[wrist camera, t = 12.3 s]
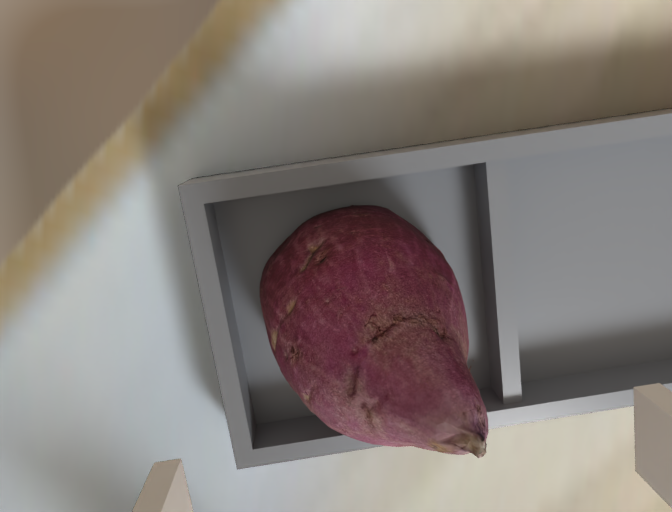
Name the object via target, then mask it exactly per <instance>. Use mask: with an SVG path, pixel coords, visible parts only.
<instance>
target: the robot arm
mask: <svg viewBox="0 0 672 512" xmlns="http://www.w3.org/2000/svg"><path fill="white" fill-rule="evenodd" d="M633 388H634V432H635V471H636V472H637V473H638V474H639V475H640V476H641V477H642V478H643V479H644V480H645V481H646V482H647V483H648V484H649V485H650V486H651V487H652V488H653V490H654V491H655V492H656V493H657V494H658V495H659V496H660V497H661V498H662V499H663V500H664V501H665V502H666V503H667V504H668V505H669V506H670V507H671V508H672V392H671V391H670V390H669V389H667V388H666V387H664V386H663V385H662V384H660V383H656V384H650V385H643V386H637V387H633ZM132 512H193V508H192V504H191V499H190V495H189V491H188V486H187V482H186V477H185V473H184V469H183V464H182V460H181V459H174V460H168V461H162V462H155V463H154V464H153V466H152V469H151V471H150V473H149V475H148V478H147V480H146V482H145V484H144V486H143V489H142V491H141V493H140V495H139V497H138V500H137V502H136V504H135V506H134V508H133V511H132Z"/></svg>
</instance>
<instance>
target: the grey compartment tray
mask: <svg viewBox="0 0 672 512" xmlns="http://www.w3.org/2000/svg"><path fill="white" fill-rule="evenodd" d="M178 189H179V194H180V198H181V203H182V208H183V213H184V218H185V222H186V227H187V232H188V237H189V241H190V246H191V251H192V256H193V261H194V265H195V270H196V275H197V280H198V285H199V289H200V294H201V299H202V304H203V309H204V313H205V318H206V323H207V328H208V332H209V337H210V342H211V347H212V352H213V356H214V361H215V366H216V371H217V376H218V380H219V385H220V390H221V395H222V399H223V404H224V409H225V414H226V419H227V423H228V428H229V433H230V438H231V443H232V447H233V452H234V457H235V462H236V467H237V469H243V468H249V467H255V466H261V465H268V464H274V463H280V462H287V461H293V460H299V459H305V458H312V457H318V456H324V455H330V454H337V453H343V452H349V451H355V450H362V449H368V448H374V447H380V446H384V445H374V444H369V443H366V442H362V441H359V440H355V439H353V438H350V437H348V436H345V435H343V434H341V433H339V432H337V431H335V430H333V429H331V428H330V427H328V426H327V425H326V424H325V423H324V422H323V421H321V420H320V419H319V418H318V417H317V416H316V415H315V414H314V413H312V412H311V411H310V410H309V409H308V407H307V406H306V405H305V404H304V403H303V401H302V400H301V398H300V397H299V395H298V394H297V393H296V392H295V391H294V390H293V389H292V388H291V386H290V384H289V383H288V382H287V380H286V379H285V377H284V376H283V374H282V373H281V370H280V368H279V365H278V363H277V361H276V359H275V357H274V355H273V352H272V350H271V346H270V343H269V339H268V335H267V330H266V326H265V322H264V317H263V313H262V308H261V303H260V281H261V277H262V272H263V269H264V267H265V265H266V263H267V261H268V259H269V258H270V257H271V255H272V254H273V253H274V252H275V250H276V249H277V248H278V247H279V246H280V245H281V244H282V243H283V242H284V241H285V240H286V238H288V237H289V236H290V235H291V234H292V233H293V232H294V231H295V230H296V229H297V228H298V227H299V226H300V225H301V224H302V223H304V222H305V221H307V220H308V219H310V218H312V217H313V216H316V215H318V214H321V213H324V212H327V211H330V210H334V209H338V208H343V207H348V206H351V205H354V206H355V205H376V206H381V207H384V208H387V209H389V210H391V211H392V212H394V213H395V214H397V215H399V216H400V217H402V218H403V219H405V220H406V221H408V222H409V223H411V224H412V225H413V226H415V227H416V228H417V229H418V230H420V231H421V232H422V233H423V234H424V235H425V236H426V237H427V238H428V239H429V240H430V241H431V242H432V243H433V244H434V245H435V246H436V247H437V248H438V249H439V250H440V251H441V252H442V253H443V255H444V257H445V259H446V261H447V262H448V264H449V265H450V267H451V268H452V270H453V272H454V274H455V277H456V279H457V282H458V285H459V288H460V291H461V294H462V298H463V302H464V306H465V311H466V317H467V326H468V337H469V351H468V358H467V366H468V369H469V368H470V366H471V368H470V373H471V375H472V376H473V379H474V381H475V383H476V385H477V387H478V389H479V392H480V396H481V398H482V401H483V403H484V405H485V407H486V412H487V417H488V429H493V428H499V427H506V426H512V425H518V424H524V423H531V422H537V421H543V420H549V419H556V418H562V417H568V416H574V415H581V414H587V413H593V412H599V411H606V410H612V409H618V408H624V407H631V406H634V388H633V387H637V386H643V385H650V384H656V383H660V384H662V385H663V386H664V387H666V388H667V389H669V390H670V391H671V392H672V108H668V109H662V110H655V111H648V112H641V113H634V114H627V115H621V116H614V117H607V118H600V119H593V120H586V121H580V122H573V123H566V124H559V125H552V126H545V127H539V128H532V129H525V130H518V131H511V132H504V133H498V134H491V135H484V136H477V137H470V138H463V139H457V140H450V141H443V142H436V143H429V144H422V145H416V146H409V147H402V148H395V149H388V150H381V151H375V152H368V153H361V154H354V155H347V156H340V157H334V158H327V159H320V160H313V161H306V162H300V163H293V164H286V165H279V166H272V167H265V168H259V169H252V170H245V171H238V172H231V173H224V174H218V175H211V176H204V177H197V178H192V179H190V180H188V181H186V182H184V183H182V184H180V185H178ZM473 360H474V361H473Z"/></svg>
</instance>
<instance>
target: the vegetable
mask: <svg viewBox="0 0 672 512" xmlns="http://www.w3.org/2000/svg"><path fill="white" fill-rule="evenodd" d="M260 303H261V308H262V313H263V317H264V322H265V326H266V330H267V335H268V339H269V343H270V346H271V350H272V352H273V355H274V357H275V359H276V361H277V363H278V365H279V368H280V370H281V373H282V374H283V376H284V377H285V379H286V380H287V382H288V383H289V384H290V386H291V388H292V389H293V390H294V391H295V392H296V393H297V394H298V395H299V397H300V398H301V400H302V401H303V403H304V404H305V405H306V406H307V407H308V409H309V410H310V411H311V412H312V413H314V414H315V415H316V416H317V417H318V418H319V419H320V420H321V421H323V422H324V423H325V424H326V425H327V426H328V427H330V428H331V429H333V430H335V431H337V432H339V433H341V434H343V435H345V436H348V437H350V438H353V439H355V440H359V441H362V442H366V443H369V444H374V445H384V446H395V447H402V446H414V447H418V448H423V449H427V450H432V451H438V452H442V453H448V454H457V455H464V454H468V453H472V454H474V455H475V456H477V457H478V458H480V457H483V456H484V454H485V453H486V438H487V435H488V417H487V412H486V407H485V405H484V403H483V401H482V398H481V396H480V392H479V389H478V387H477V385H476V383H475V381H474V379H473V376H472V375H471V373H470V368H471V366H470V368H469V369H468V366H467V358H468V351H469V337H468V326H467V317H466V311H465V306H464V302H463V298H462V294H461V291H460V288H459V285H458V282H457V279H456V277H455V274H454V272H453V270H452V268H451V267H450V265H449V264H448V262H447V261H446V259H445V257H444V255H443V253H442V252H441V251H440V250H439V249H438V248H437V247H436V246H435V245H434V244H433V243H432V242H431V241H430V240H429V239H428V238H427V237H426V236H425V235H424V234H423V233H422V232H421V231H420V230H418V229H417V228H416V227H415V226H413V225H412V224H411V223H409V222H408V221H406V220H405V219H403V218H402V217H400V216H399V215H397V214H395V213H394V212H392V211H391V210H389V209H387V208H384V207H381V206H376V205H355V206H354V205H351V206H348V207H343V208H338V209H334V210H330V211H327V212H324V213H321V214H318V215H316V216H313V217H312V218H310V219H308V220H307V221H305V222H304V223H302V224H301V225H300V226H299V227H298V228H297V229H296V230H295V231H294V232H293V233H292V234H291V235H290V236H289V237H288V238H286V240H285V241H284V242H283V243H282V244H281V245H280V246H279V247H278V248H277V249H276V250H275V252H274V253H273V254H272V255H271V257H270V258H269V259H268V261H267V263H266V265H265V267H264V269H263V272H262V277H261V281H260ZM473 361H474V360H473Z"/></svg>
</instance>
